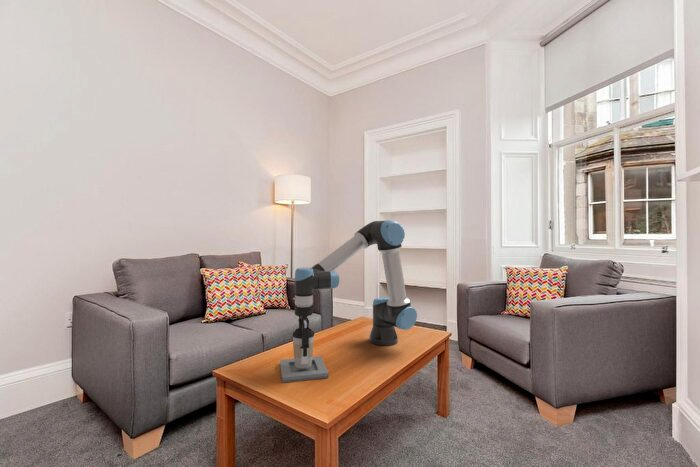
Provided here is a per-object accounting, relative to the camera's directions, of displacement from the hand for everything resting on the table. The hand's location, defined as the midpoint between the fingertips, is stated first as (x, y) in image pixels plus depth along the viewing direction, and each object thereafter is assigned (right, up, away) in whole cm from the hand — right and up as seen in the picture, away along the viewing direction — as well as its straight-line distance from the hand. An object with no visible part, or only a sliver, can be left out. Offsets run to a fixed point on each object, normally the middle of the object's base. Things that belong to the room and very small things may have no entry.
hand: (303, 359), depth 138 cm
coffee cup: (0, -3, 0) cm, 3 cm away
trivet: (0, -5, 0) cm, 5 cm away
